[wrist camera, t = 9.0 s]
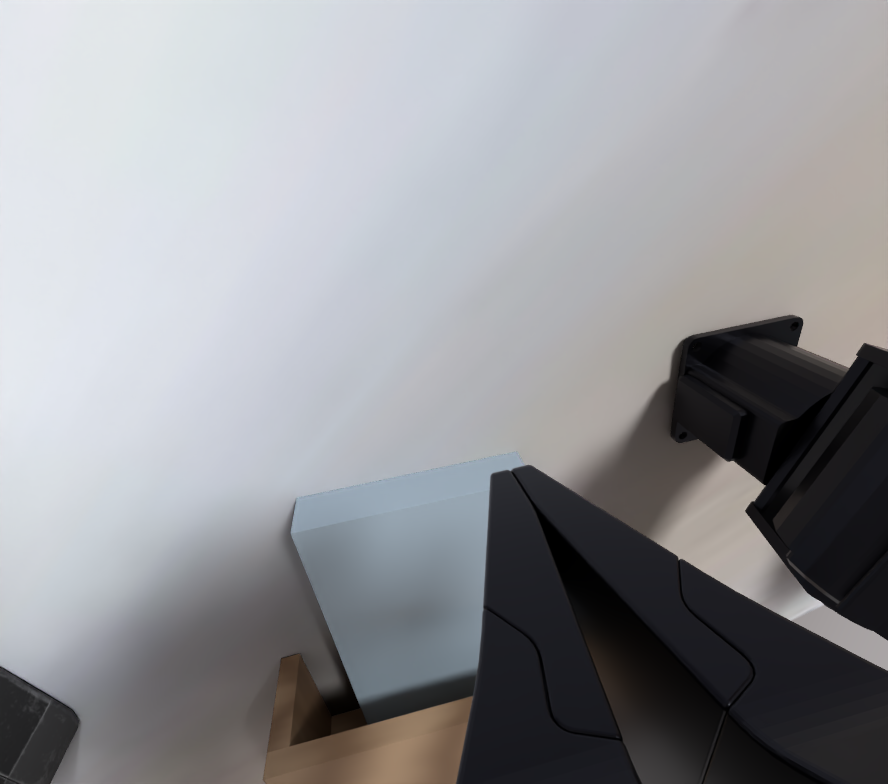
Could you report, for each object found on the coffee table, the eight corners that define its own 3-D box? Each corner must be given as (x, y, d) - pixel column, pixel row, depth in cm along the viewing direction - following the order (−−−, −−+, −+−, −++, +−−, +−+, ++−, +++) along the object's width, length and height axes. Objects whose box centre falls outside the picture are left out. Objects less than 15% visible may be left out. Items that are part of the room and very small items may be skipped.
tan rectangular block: (572, 583, 30) (622, 678, 25) (572, 658, 34) (614, 753, 29) (281, 658, 28) (262, 780, 23) (319, 727, 33) (311, 843, 27)
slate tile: (514, 446, 24) (533, 480, 22) (524, 638, 33) (538, 679, 30) (297, 492, 23) (290, 533, 21) (366, 679, 32) (367, 725, 29)
